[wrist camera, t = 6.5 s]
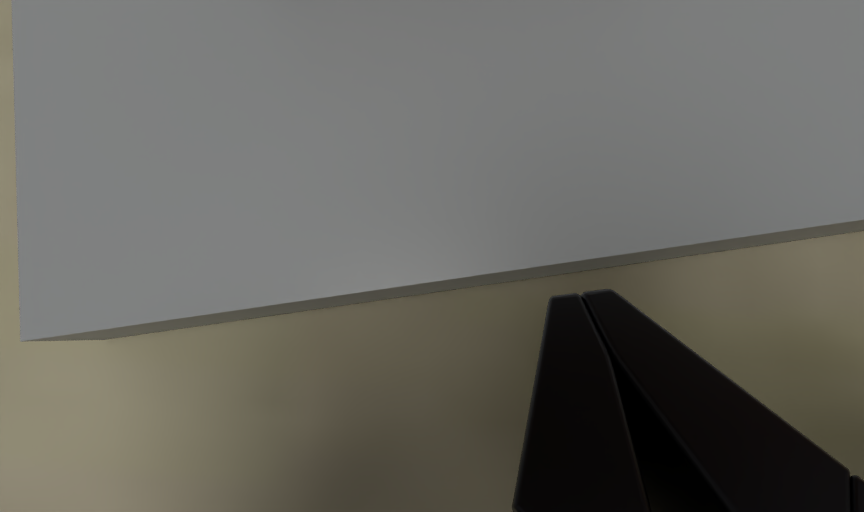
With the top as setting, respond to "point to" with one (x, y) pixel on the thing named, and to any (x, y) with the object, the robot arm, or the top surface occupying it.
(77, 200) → the deck
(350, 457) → the top surface
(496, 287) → the top surface
